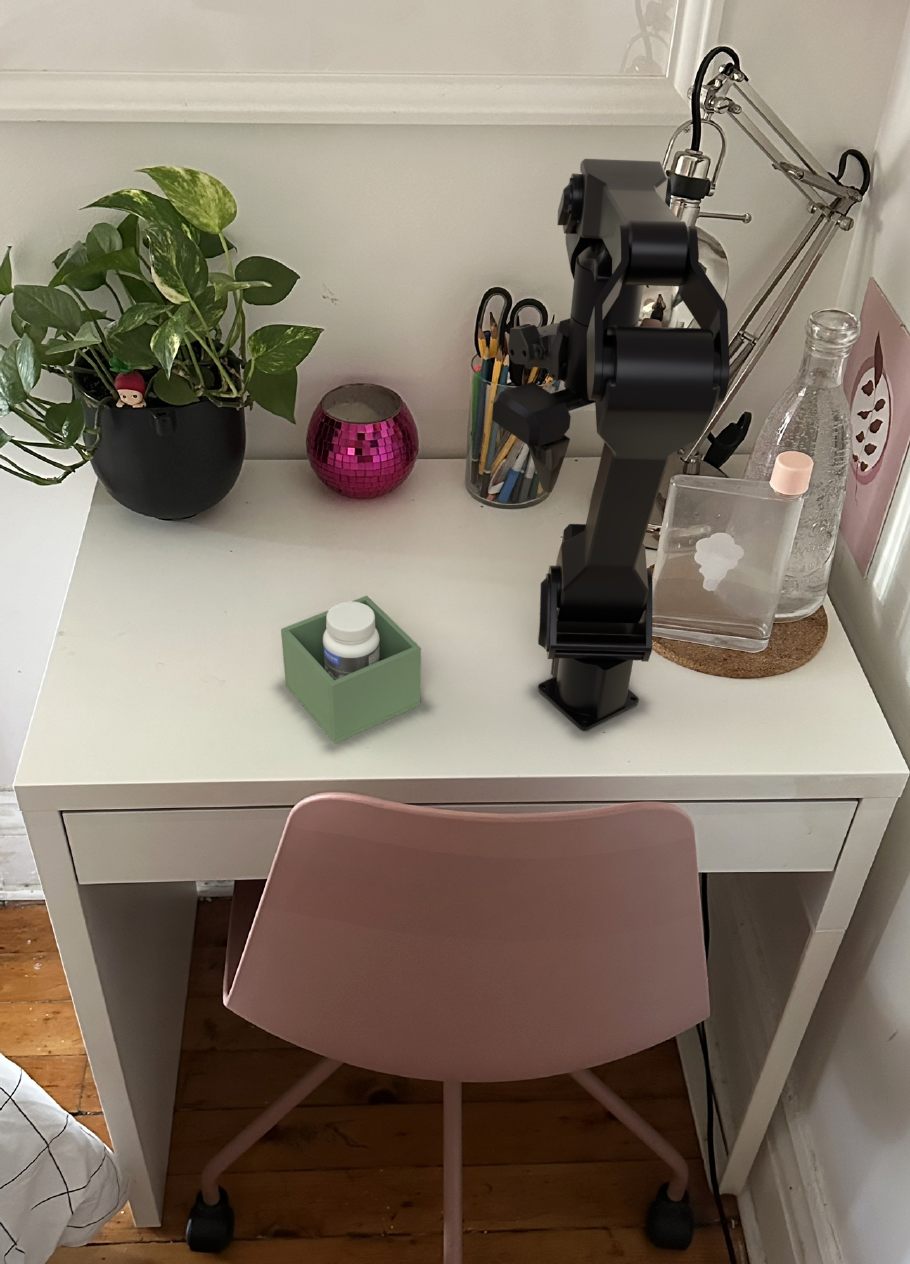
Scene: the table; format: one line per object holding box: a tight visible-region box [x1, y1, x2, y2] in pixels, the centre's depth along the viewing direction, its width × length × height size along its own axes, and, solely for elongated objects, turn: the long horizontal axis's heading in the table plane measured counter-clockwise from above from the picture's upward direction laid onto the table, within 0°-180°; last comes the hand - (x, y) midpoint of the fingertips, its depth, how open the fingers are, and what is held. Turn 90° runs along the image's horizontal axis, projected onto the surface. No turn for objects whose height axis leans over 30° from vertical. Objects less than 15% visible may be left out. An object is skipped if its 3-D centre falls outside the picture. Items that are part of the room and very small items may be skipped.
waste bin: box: [280, 595, 422, 744], centre depth 97 cm, size 8×8×6 cm
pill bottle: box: [323, 601, 380, 680], centre depth 96 cm, size 5×5×8 cm
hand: (585, 475), depth 106 cm, fingers open, 9 cm apart
